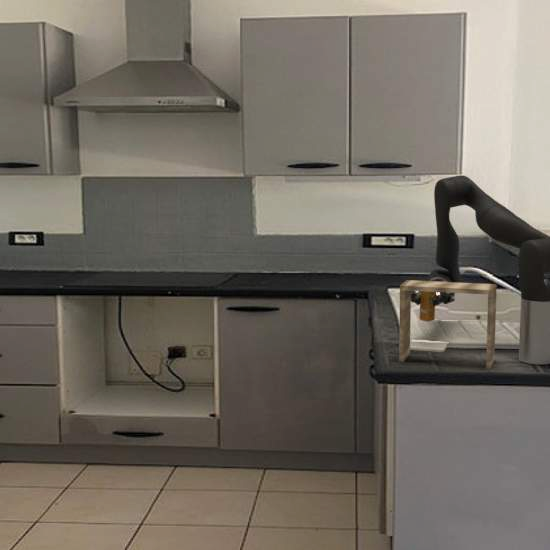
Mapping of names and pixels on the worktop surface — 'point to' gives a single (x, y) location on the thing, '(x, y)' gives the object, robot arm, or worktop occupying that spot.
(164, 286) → the worktop surface
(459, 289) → the shelf bay
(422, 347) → the tile pad
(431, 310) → the supplement box
